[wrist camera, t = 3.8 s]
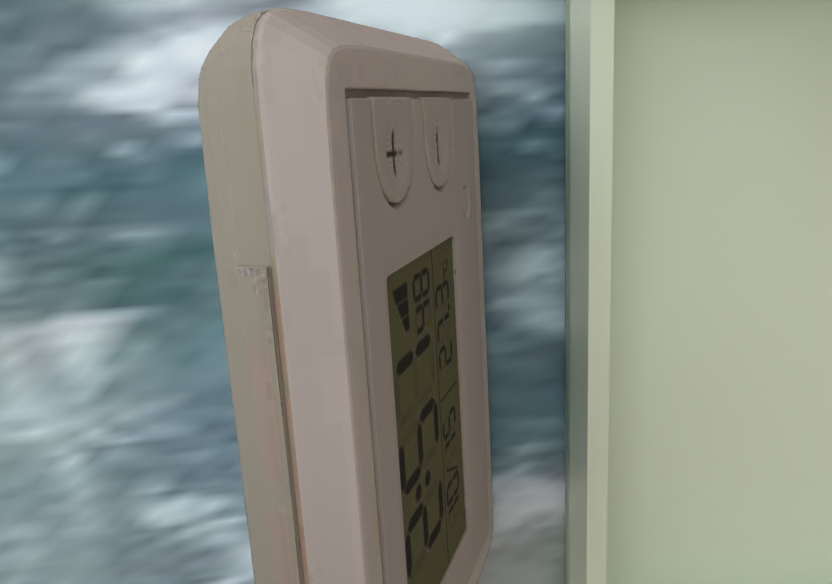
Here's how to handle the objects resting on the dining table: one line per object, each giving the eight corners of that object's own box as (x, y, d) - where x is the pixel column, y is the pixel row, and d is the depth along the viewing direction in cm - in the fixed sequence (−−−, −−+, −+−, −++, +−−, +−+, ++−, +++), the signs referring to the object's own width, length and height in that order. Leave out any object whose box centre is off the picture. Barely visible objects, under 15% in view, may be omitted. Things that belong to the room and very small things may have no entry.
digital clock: (478, 560, 26) (540, 863, 15) (211, 531, 25) (85, 826, 15) (566, 68, 22) (725, 25, 12) (257, 21, 21) (134, -69, 11)
